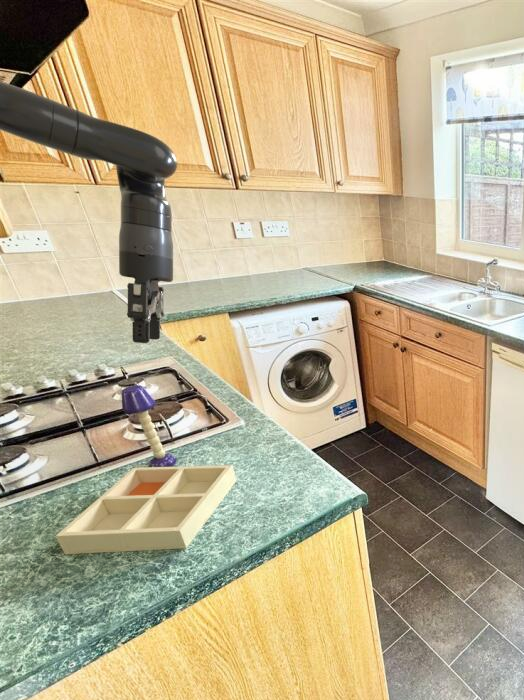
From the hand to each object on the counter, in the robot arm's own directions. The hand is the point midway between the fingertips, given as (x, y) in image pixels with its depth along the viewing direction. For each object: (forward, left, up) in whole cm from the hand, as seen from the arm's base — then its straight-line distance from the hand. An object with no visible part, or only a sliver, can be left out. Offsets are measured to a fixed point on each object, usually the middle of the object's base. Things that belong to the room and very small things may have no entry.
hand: (147, 340), depth 79 cm
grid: (+9, -22, -23) cm, 33 cm away
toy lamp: (+1, -8, -23) cm, 24 cm away
